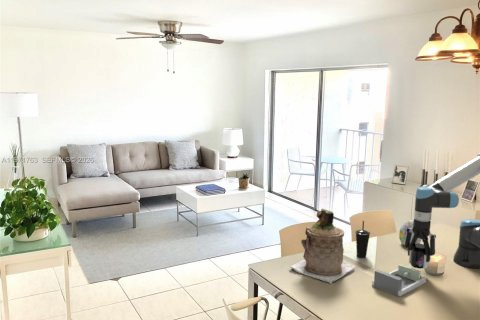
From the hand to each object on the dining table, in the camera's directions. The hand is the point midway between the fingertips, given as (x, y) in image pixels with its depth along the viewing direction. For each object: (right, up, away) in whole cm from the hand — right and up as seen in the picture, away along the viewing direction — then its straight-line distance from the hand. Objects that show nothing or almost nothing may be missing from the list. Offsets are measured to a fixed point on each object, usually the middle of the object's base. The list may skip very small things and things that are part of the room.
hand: (418, 265), depth 199 cm
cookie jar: (-45, -4, +6) cm, 46 cm away
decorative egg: (+13, +1, +42) cm, 44 cm away
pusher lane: (-13, -6, -10) cm, 18 cm away
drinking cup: (-21, -1, +23) cm, 31 cm away
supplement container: (0, -1, 0) cm, 1 cm away
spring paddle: (-8, -5, -6) cm, 11 cm away
